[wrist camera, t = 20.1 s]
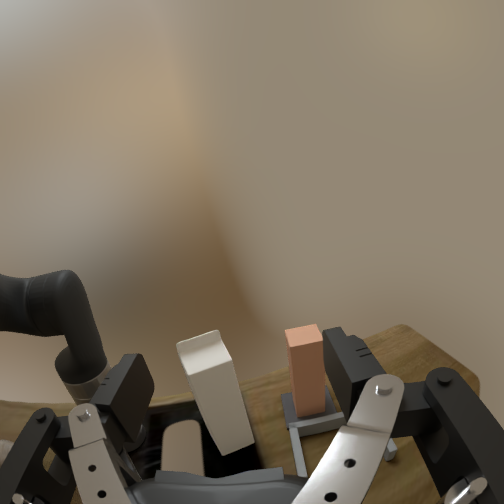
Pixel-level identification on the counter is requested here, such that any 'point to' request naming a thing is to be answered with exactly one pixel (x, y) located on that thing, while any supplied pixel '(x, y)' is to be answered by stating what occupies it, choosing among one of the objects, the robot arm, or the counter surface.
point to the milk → (216, 390)
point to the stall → (317, 427)
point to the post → (306, 369)
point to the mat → (292, 416)
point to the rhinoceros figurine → (4, 449)
